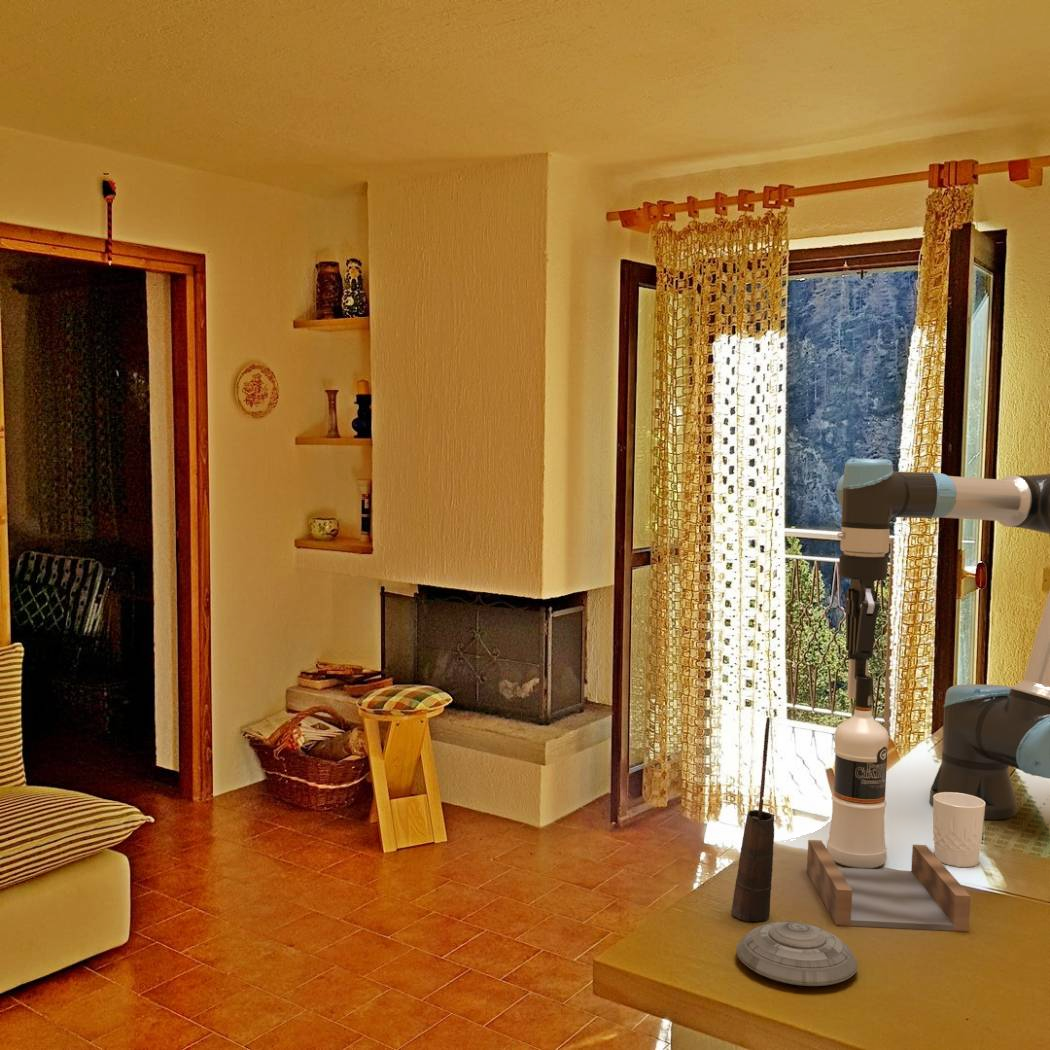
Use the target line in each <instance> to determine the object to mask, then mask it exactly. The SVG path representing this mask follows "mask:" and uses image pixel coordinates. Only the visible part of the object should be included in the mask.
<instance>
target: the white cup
mask: <svg viewBox="0 0 1050 1050" xmlns="http://www.w3.org/2000/svg"><path fill="white" fill-rule="evenodd" d="M985 804H986V803H985V801H984V800H982V799H980V798H978V797H975V796H972V795H968V794H963V793H954V792H943V793H937V794H935V795H934V796H933V805H932V816H933V817H932V831H933V839H932V840H933V845H934V851H933V852H934V853H933V854H934V855H935V856H936V857H937V858H938V860H939V861H940V862H941V863H942V864H943V865H948V866H951V867H952V866H953V867H955V868H956V867H958V868H970V867H972V868H973V867H975V866H977V865H978V864H979V861H980V860H979V859H980V849H981V847H982V841H983V840H982V839H983V832H984V831H983V830H984V823H985V819H984V814H985Z"/></svg>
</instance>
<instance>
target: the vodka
mask: <svg viewBox="0 0 1050 1050" xmlns="http://www.w3.org/2000/svg"><path fill="white" fill-rule="evenodd" d="M873 680H874V677H873V676H871V675H868V674H867V675H858V676H856V695H855V699H854V714H853V716H851V717H849V718H848V719H846V720H844V721H842V722H840V723H839V724H838V726H836V728H835V731H834V748H833V751H834V755H835V756H834V776H833V778H834V779H833V794H832V796H831V800H832V809H831V810H832V812H831V820H830V828H829V834H828V835H829V836H828V839H827V841H826V849H827V850H828V852H829V854H830V855H831V857H832V859H833V860H834V862H835V863H836V864H839V865H841V866H843V867H846V868H858V869H876V868H878V867H881V866H882V865H884V864H885V862H886V860H887V855H888V854H887V853H888V851H887V849H888V848H887V847H886V846H887V845H886V838H885V836H886V835H885V833H886V832H885V812H886V806H887V801H886V789H887V787H886V786H887V785H886V784H887V769H888V768H887V765H888V758H889V752H888V751H889V750H888V749H889V742H890V736H889V732H888V730H887V729H886V727H884V726H883V725H881V723H880V722H878V721H877V720H876V719H875V718H874V717H873V716H872V713H873V712H872V705H873V704H872V702H873V685H874V684H873Z"/></svg>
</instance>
